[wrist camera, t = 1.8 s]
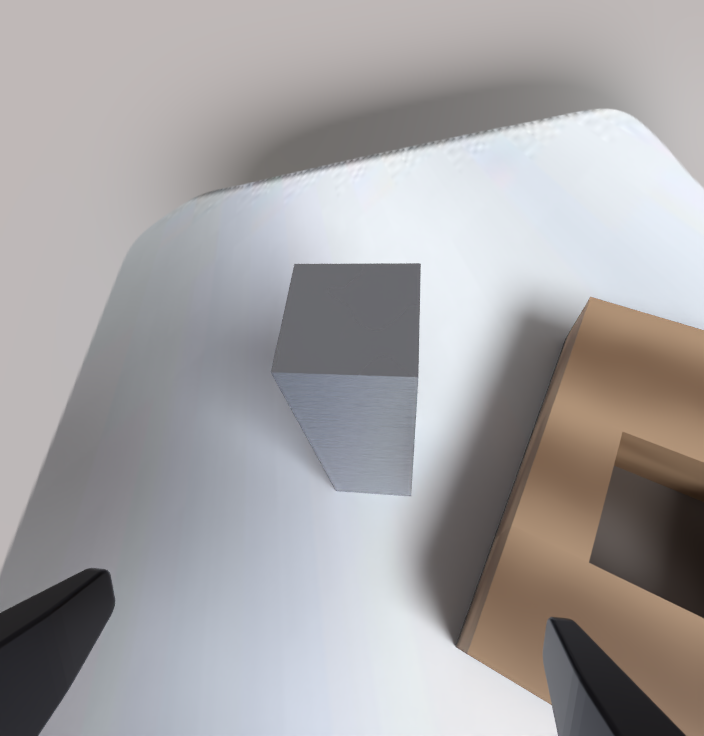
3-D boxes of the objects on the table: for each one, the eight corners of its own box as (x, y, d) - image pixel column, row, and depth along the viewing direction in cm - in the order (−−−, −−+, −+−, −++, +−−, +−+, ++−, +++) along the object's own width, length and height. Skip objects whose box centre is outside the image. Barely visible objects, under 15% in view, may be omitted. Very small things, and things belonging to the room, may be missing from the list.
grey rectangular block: (411, 496, 22) (418, 377, 11) (336, 490, 23) (271, 372, 12) (412, 425, 24) (420, 263, 13) (343, 421, 25) (294, 264, 14)
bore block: (778, 841, 15) (891, 909, 12) (455, 646, 19) (467, 654, 15) (803, 417, 22) (877, 381, 19) (565, 338, 26) (590, 296, 23)
